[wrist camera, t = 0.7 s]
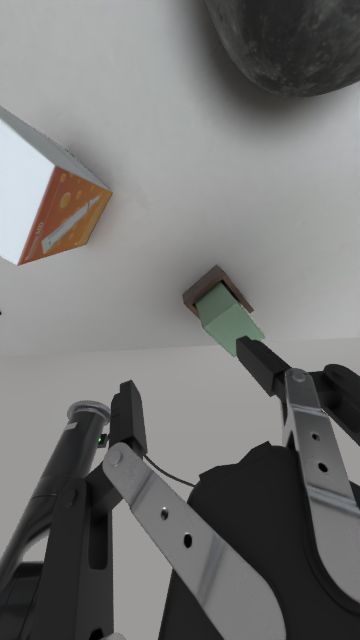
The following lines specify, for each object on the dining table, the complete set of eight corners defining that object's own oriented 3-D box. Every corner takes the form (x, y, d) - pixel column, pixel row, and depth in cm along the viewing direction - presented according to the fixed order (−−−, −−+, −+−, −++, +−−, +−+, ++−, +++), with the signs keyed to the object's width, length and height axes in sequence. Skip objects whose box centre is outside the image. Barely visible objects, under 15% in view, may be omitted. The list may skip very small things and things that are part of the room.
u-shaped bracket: (246, 301, 30) (254, 310, 27) (213, 325, 33) (217, 336, 30) (216, 264, 27) (222, 270, 24) (182, 294, 29) (183, 303, 26)
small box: (86, 245, 24) (17, 269, 13) (39, 211, 22) (-94, 205, 11) (114, 191, 21) (56, 164, 10) (63, 146, 19) (-86, 45, 8)
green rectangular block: (238, 303, 31) (265, 337, 22) (216, 320, 32) (233, 357, 24) (216, 276, 28) (237, 302, 19) (192, 295, 29) (202, 328, 21)
